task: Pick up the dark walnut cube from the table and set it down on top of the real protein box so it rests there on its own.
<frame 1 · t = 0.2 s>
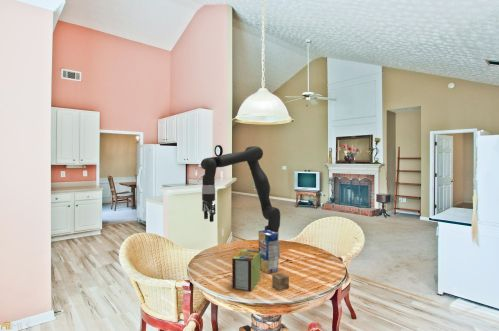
hand: (208, 220, 164), 29 cm above the table, fingers open, 8 cm apart
protein box: (246, 284, 147), on the table
walnut cube: (280, 287, 143), on the table
beverage box: (268, 269, 166), on the table
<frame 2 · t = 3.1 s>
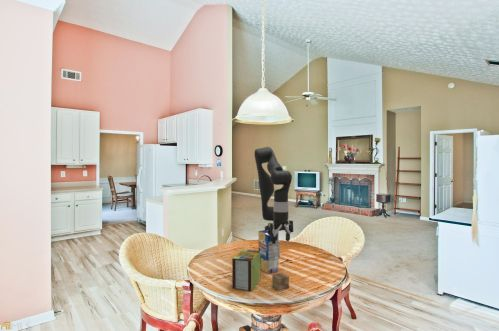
hand: (280, 242, 142), 23 cm above the table, fingers open, 8 cm apart
nothing on the table moved.
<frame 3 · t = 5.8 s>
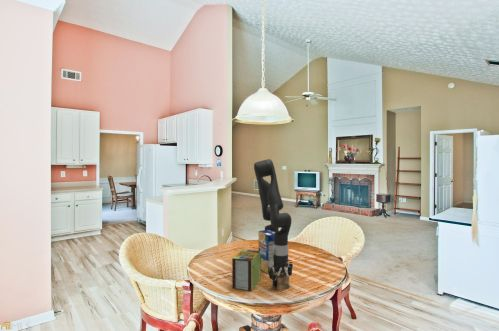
hand: (280, 285, 143), 1 cm above the table, fingers closed on walnut cube, 6 cm apart
walnut cube: (280, 287, 143), on the table, touching gripper
everything else where it was.
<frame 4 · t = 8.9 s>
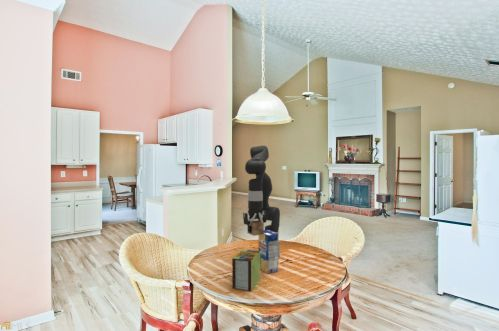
hand: (255, 231, 145), 27 cm above the table, fingers closed on walnut cube, 6 cm apart
walnut cube: (255, 233, 145), point 27 cm above the table, touching gripper
everything else where it was.
when the fingers open (18 cm above the table, at t = 11.9 s): walnut cube drops 2 cm, resting on protein box.
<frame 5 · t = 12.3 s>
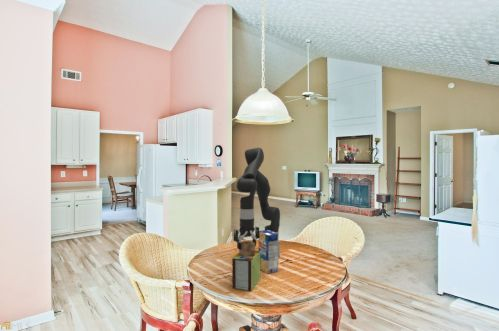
hand: (246, 248, 146), 19 cm above the table, fingers open, 8 cm apart
protein box: (246, 284, 147), on the table, touching walnut cube
walnut cube: (246, 254, 146), point 15 cm above the table, touching protein box
everything else where it was.
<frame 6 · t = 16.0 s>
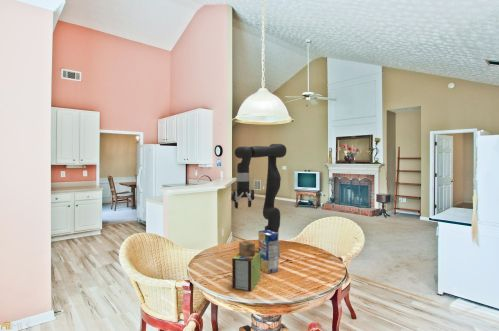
hand: (243, 207, 166), 36 cm above the table, fingers open, 8 cm apart
nothing on the table moved.
at the end: walnut cube inside the target area on the protein box (0.2 cm from its centre), point 15.7 cm above the protein box's base; walnut cube tilted 0°; the gripper is holding nothing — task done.
